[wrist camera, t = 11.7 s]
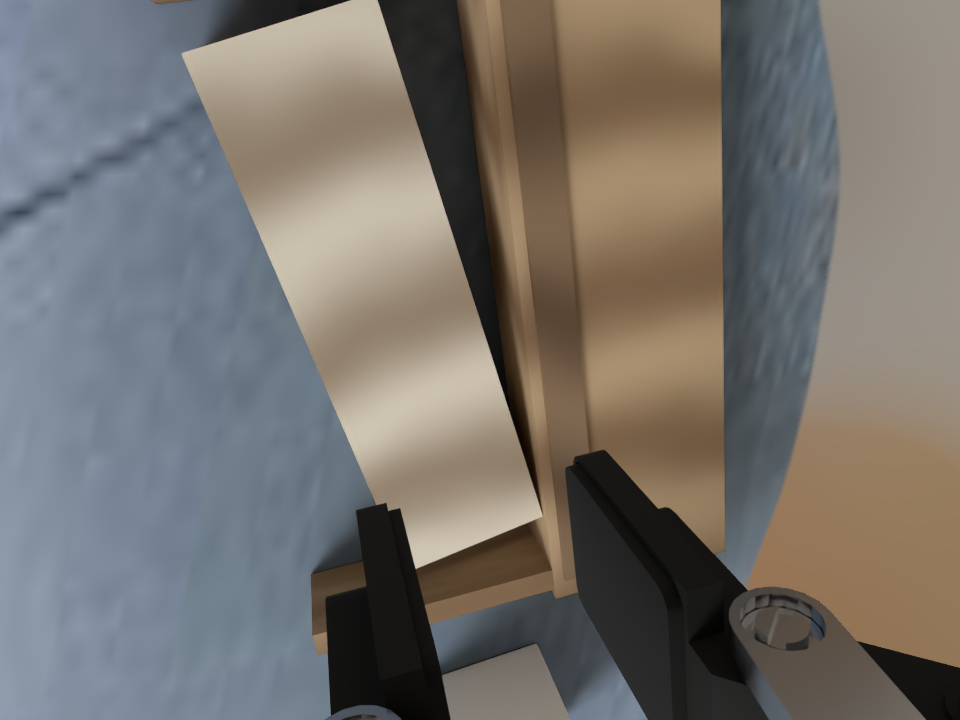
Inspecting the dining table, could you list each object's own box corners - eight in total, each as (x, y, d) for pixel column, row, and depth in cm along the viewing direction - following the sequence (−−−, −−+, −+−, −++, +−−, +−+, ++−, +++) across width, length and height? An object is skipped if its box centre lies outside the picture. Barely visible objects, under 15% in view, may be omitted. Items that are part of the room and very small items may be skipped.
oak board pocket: (142, -48, 23) (109, -81, 19) (659, -101, 26) (725, -139, 22) (318, 601, 32) (320, 670, 28) (680, 505, 35) (728, 554, 31)
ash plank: (198, 61, 24) (181, 53, 21) (363, 10, 25) (375, -8, 21) (393, 519, 32) (405, 572, 28) (515, 470, 33) (543, 516, 29)
